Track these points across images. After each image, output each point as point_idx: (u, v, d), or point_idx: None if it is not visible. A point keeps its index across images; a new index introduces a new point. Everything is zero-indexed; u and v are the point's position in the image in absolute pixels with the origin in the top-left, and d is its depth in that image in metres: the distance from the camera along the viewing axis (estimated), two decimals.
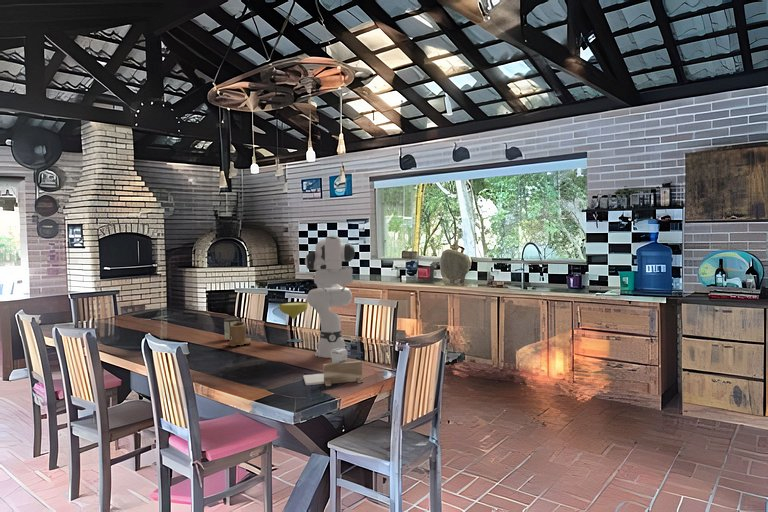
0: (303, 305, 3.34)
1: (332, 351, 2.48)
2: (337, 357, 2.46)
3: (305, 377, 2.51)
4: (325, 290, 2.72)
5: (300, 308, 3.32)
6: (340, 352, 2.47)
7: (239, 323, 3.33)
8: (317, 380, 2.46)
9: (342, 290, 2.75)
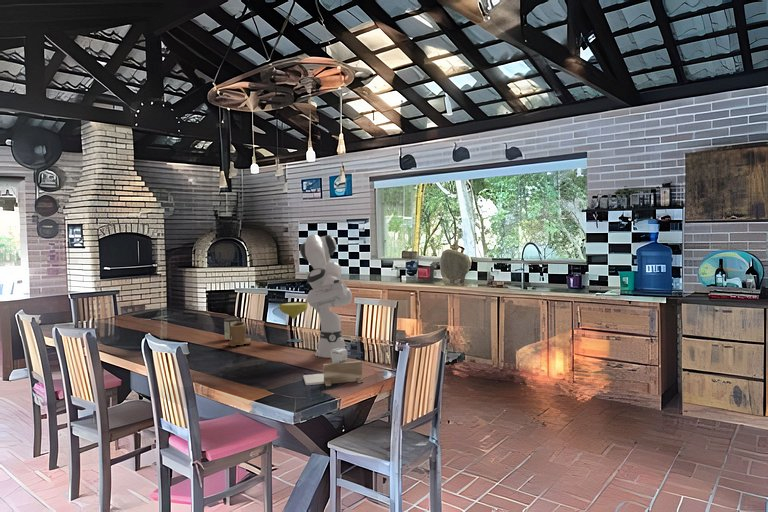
0: (303, 305, 3.34)
1: (332, 351, 2.48)
2: (337, 357, 2.46)
3: (305, 377, 2.51)
4: None
5: (300, 308, 3.32)
6: (340, 352, 2.47)
7: (239, 323, 3.33)
8: (317, 380, 2.46)
9: None
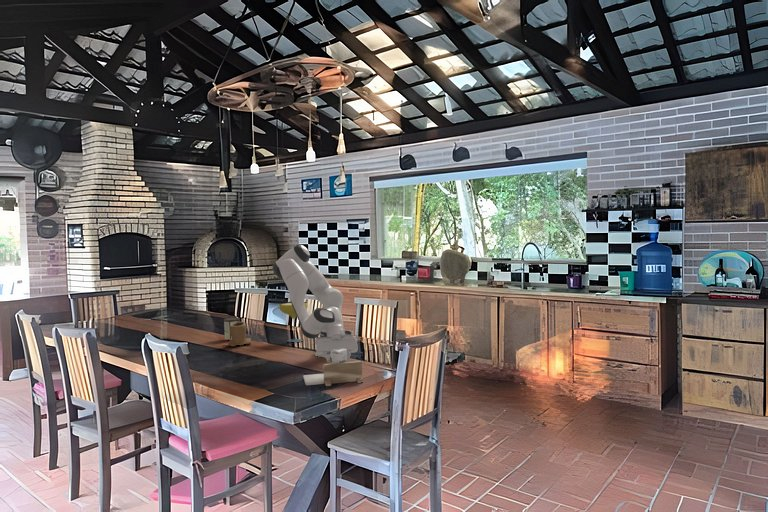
0: None
1: (332, 351, 2.48)
2: (337, 358, 2.46)
3: (305, 377, 2.51)
4: None
5: None
6: (340, 352, 2.46)
7: (239, 323, 3.33)
8: (317, 380, 2.46)
9: None
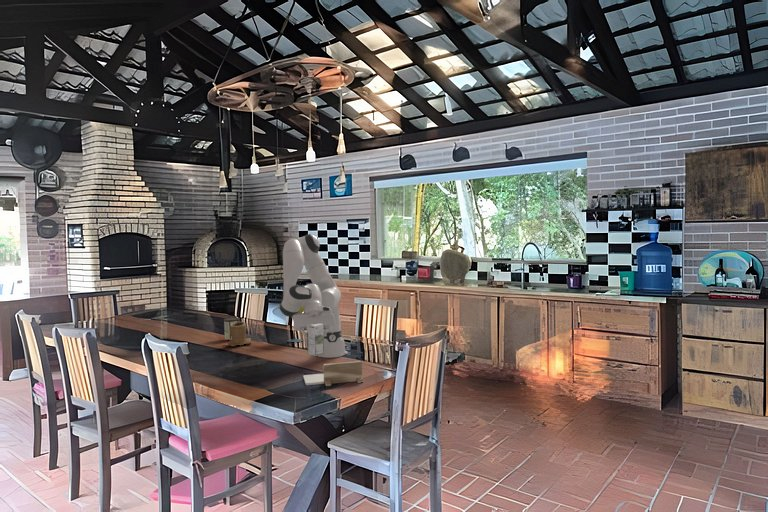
0: None
1: (308, 325, 2.47)
2: (313, 332, 2.45)
3: (305, 377, 2.51)
4: None
5: (300, 308, 3.32)
6: (316, 326, 2.45)
7: (239, 323, 3.33)
8: (317, 380, 2.46)
9: None
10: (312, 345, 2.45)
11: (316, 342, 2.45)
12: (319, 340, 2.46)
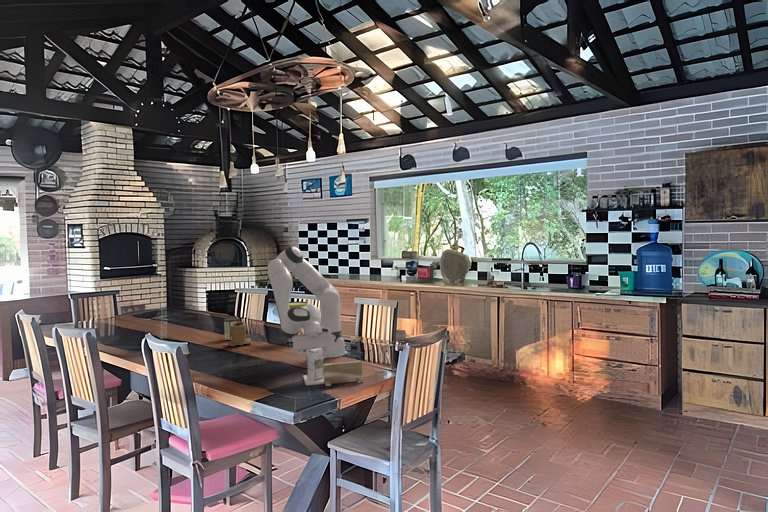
0: (303, 305, 3.34)
1: (308, 350, 2.47)
2: (312, 356, 2.45)
3: (305, 377, 2.51)
4: None
5: None
6: (315, 351, 2.45)
7: (239, 323, 3.33)
8: (317, 380, 2.46)
9: None
10: (312, 370, 2.46)
11: (315, 367, 2.45)
12: (318, 365, 2.47)
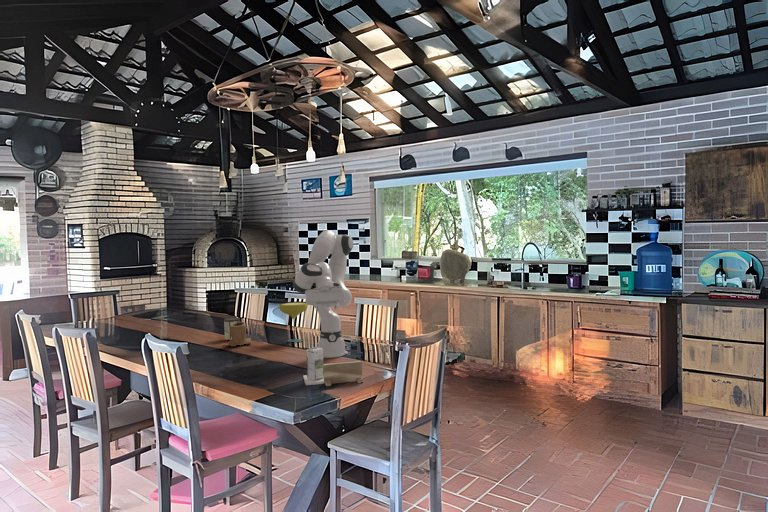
0: (303, 305, 3.34)
1: (308, 350, 2.47)
2: (312, 357, 2.45)
3: (305, 377, 2.51)
4: None
5: (300, 308, 3.32)
6: (315, 351, 2.45)
7: (239, 323, 3.33)
8: (317, 380, 2.46)
9: None
10: (312, 370, 2.46)
11: (315, 367, 2.45)
12: (318, 365, 2.47)
